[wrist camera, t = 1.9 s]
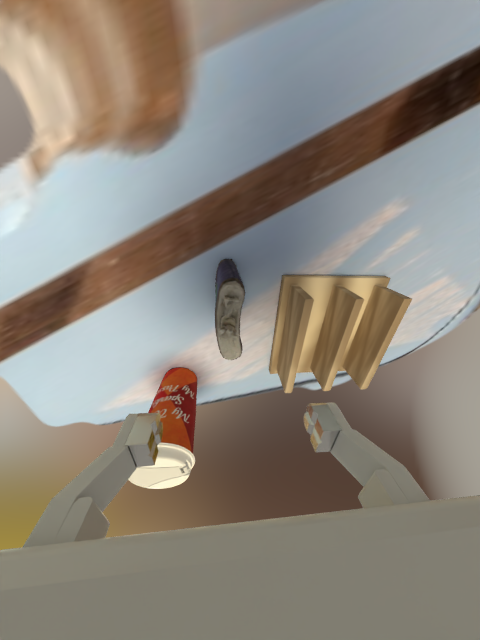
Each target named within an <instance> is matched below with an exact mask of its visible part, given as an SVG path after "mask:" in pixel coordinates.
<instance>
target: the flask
mask: <svg viewBox="0 0 480 640" xmlns="http://www.w3.org/2000/svg"><path fill="white" fill-rule="evenodd" d="M215 284H216V285H215V287H216V308H215V328H216V336H217V341H218V346H219V350H220V353H221V354H222V356H223V358H225V359H228V360H234V359H237V358H238V357H240V356H241V353H242V343H241V339H240V314H241V308H242V304H243V301H244V296H245V290H244V286H243V283H242V281H241V279H240V276H239V273H238V270H237V268H236V265H235V263H234V262H233V261H232V259H230V260H229V259H224V260H221V261H220V263H219V265H218V268H217V274H216V283H215Z"/></svg>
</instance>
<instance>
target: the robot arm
mask: <svg viewBox="0 0 480 640" xmlns="http://www.w3.org/2000/svg"><path fill="white" fill-rule="evenodd" d="M306 409H307V412H306V413H305V414H304V424H305V428H306V430H307V432H308V433H309V434H310V435H311V439H310V440H311V443H312V445H313V447H314V450H315V452H329V451H331V453H332V454H333V455H334V456H335V457H336V458H337V460H338V461H339V462H341V464H342V465H343V466H344V467H345V468H346V469H347V470H348V471H349V472H350V473H351V474H352V475H353V476H354V477H355V478H356V479H357V480H358V481H359V482H360V483H361V484H362V486H363V487H364V488H363V489H362V491H361V492H360V494H359V496H358V498H359V500H360V502H361V504H362V506H363V509H355V510H346V511H338V512H329V513H319V514H311V515H302V516H294V517H284V518H277V519H268V520H258V521H249V522H241V523H232V524H223V525H215V526H206V527H197V528H188V529H181V530H171V531H163V532H154V533H145V534H136V535H128V536H119V537H110V538H105V536H106V533H107V531H108V528H109V525H110V524H109V521H108V520H107V518H106V517H105V516H104V514H103V513H102V512H103V511H104V509H105V508H106V507H107V506H108V504H109V503H110V502H111V501H112V499H113V498H114V497H115V495H116V494H117V493H118V492H119V490H120V489H121V487H122V486H123V485H124V484H125V483H126V481H127V480H128V479H129V478H130V476H131V475H132V474H133V472H134V471H135V470H136V467H144V466H153V465H155V462H156V458H157V455H158V447H157V445H158V444H159V443H160V442H161V439H162V435H163V423H162V422H161V421H160V419H161V415H160V413H139V414H129V415H128V416H127V417H126V419H125V421H124V423H123V425H122V427H121V429H120V431H119V434H118V436H117V438H116V440H115V442H114V444H113V446H112V447H109V448H108V449H106V451H104V452H103V453H102V454H101V455H100V456H99V457H98V458H97V459H95V460H94V461H93V462H92V463H91V464H90V465H89V466H88V467H87V468H86V469H84V470H83V471H82V472H81V473H80V474H79V475H78V476H77V477H76V478H75V479H73V480H72V481H71V482H70V483H69V484H68V485H67V486H66V487H65V488H63V489H62V490H61V491H60V492H59V493H58V494H57V495H56V496H55V497H54V498H52V500H51V501H50V503H49V505H48V506H47V508H46V510H45V511H44V513H43V515H42V516H41V518H40V520H39V521H38V523H37V524H36V526H35V528H34V529H33V531H32V533H31V534H30V536H29V538H28V539H27V541H26V542H25V544H24V546H23V547H22V548H15V549H6V550H0V640H480V495H477V496H468V497H459V498H450V499H442V500H433V501H430V500H429V499H428V497H427V496H426V495H425V493H424V492H423V491H422V489H421V488H420V487H419V485H418V484H417V483H416V481H415V480H414V479H413V477H412V476H411V474H410V473H409V472H408V471H407V469H406V468H405V466H403V465H402V464H401V463H399V462H398V461H396V460H395V459H394V458H392V457H391V456H390V455H388V454H387V453H386V452H384V451H383V450H382V449H380V448H379V447H377V446H376V445H375V444H374V443H372V442H371V441H369V440H368V439H367V438H365V437H364V436H363V435H361V434H360V433H359V432H357V431H356V430H352V429H351V427H350V426H349V424H348V422H347V421H346V419H345V418H344V416H343V414H342V413H341V411H340V410H339V408H338V407H337V405H336V404H335V403H316V404H308V405H307V407H306Z"/></svg>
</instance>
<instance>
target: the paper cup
mask: <svg viewBox="0 0 480 640" xmlns="http://www.w3.org/2000/svg"><path fill="white" fill-rule="evenodd" d="M196 395H197V377H196V375H195V373H194V372H193V371H191V370H189V369H187V368H181V367H179V368H173V369H171V370H169V371H168V372H167V373H166V374H165V376H164V378H163V380H162V382H161V385H160V387H159V389H158V391H157V394H156V396H155V398H154V401H153V403H152V405H151V408H150V410H149V412H148V413H160V415H161V419H160V421H161V422H162V423H163V435H162V439H161V442H160V443H159V444H158V445H157V447H158V455H157V458H156V462H155V465H153V466H144V467H136V470H135V471H134V472H133V474H132V475H131V476H130V478H129V479H128V480H129V481H131V482H132V483H133V484H135V485H138V486H141V487H145V488H152V489H162V488H169V487H173V486H176V485H179V484H181V483H183V482H184V481H185V480H186V479H187V478H188V476H189V474H190V471H191V469H192V467H193V465H194V463H195V457H194V455H193V443H194V428H195V416H196Z"/></svg>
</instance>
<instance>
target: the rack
mask: <svg viewBox="0 0 480 640" xmlns="http://www.w3.org/2000/svg"><path fill="white" fill-rule="evenodd" d="M389 280H390V278H388V277H386V276H316V275H282V282H281V289H280V296H279V303H278V310H277V317H276V324H275V331H274V337H273V344H272V351H271V358H270V365H269V372H270V374H276V373H278V375H279V377H280V380H281V383H282V386H283V388H284V391H285V393H291V392H292V389H293V385H294V381H295V377H296V373H301V372H313V374H314V375H315V377H316V379H317V381H318V382H319V384H320V386H321V387H322V389H323V391H330V389H331V387H332V384H333V381H334V379H335V376H336V373H337V371H347V373H348V374H349V375H350V376H351V378H352V379H353V380H354V381H355V383H356V384H357V385H358V386H359V388H360V389H367V387H368V385H369V383H370V381H371V379H372V377H373V376H374V374H375V372H376V370H377V368H378V366H379V364H380V362H381V360H382V358H383V356H384V354H385V352H386V350H387V348H388V346H389V344H390V342H391V340H392V338H393V336H394V334H395V332H396V330H397V328H398V326H399V324H400V322H401V320H402V318H403V316H404V314H405V312H406V310H407V308H408V306H409V304H410V302H411V300H412V299H411V298H409V297H407V296H404V295H402V294H400V293H397V292H395V291H393V290H391V289H388V288H387V285H388V283H389Z"/></svg>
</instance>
